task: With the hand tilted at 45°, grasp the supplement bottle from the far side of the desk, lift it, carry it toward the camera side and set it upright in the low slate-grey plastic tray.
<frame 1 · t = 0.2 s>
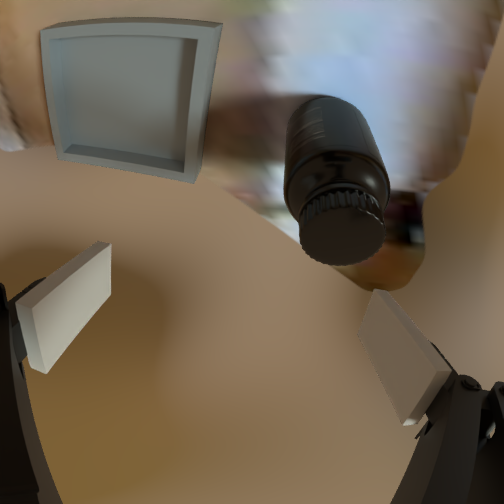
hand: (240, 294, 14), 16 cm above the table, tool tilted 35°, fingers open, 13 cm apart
supplement bottle: (328, 130, 23), on the table
tray: (126, 91, 22), on the table
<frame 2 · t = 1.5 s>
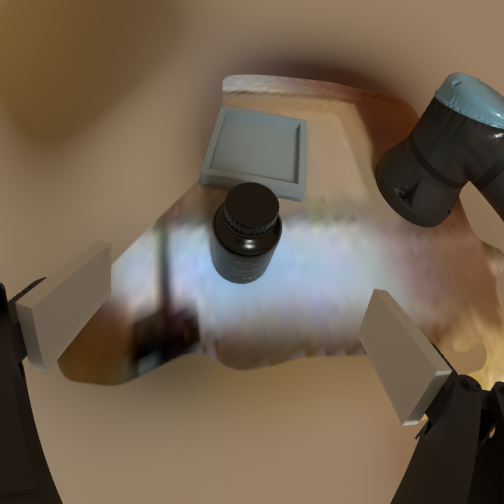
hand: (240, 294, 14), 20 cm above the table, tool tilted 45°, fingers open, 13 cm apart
supplement bottle: (239, 259, 37), on the table
tray: (257, 153, 45), on the table
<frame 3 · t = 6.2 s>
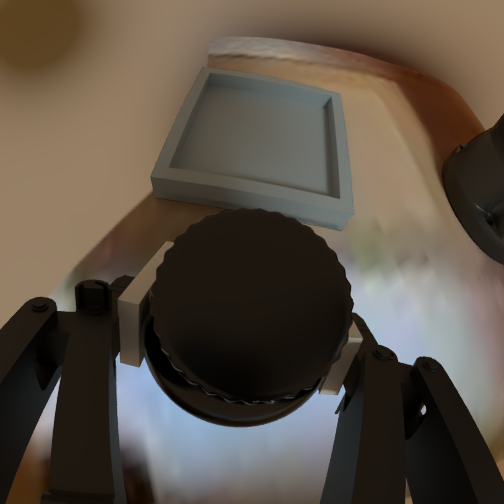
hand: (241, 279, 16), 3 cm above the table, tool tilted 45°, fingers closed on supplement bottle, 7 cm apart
supplement bottle: (227, 355, 18), on the table, touching gripper
tray: (260, 142, 25), on the table
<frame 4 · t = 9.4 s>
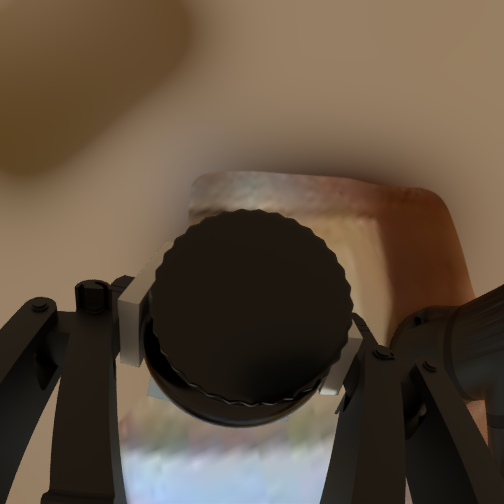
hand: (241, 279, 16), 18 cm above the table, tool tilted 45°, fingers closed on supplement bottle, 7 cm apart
supplement bottle: (226, 355, 18), point 15 cm above the table, touching gripper
when the fingers open (6 cm above the table, at t = 12.8 s): supplement bottle drops 2 cm, resting on tray.
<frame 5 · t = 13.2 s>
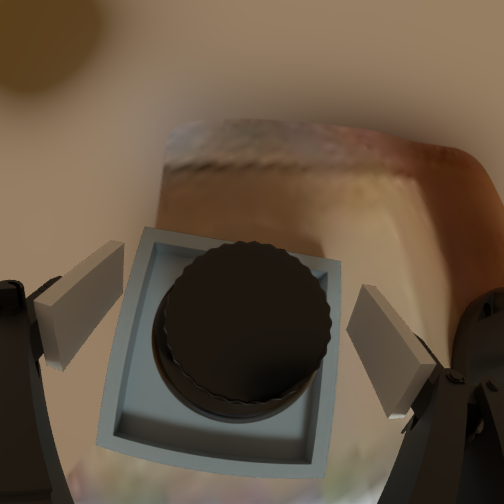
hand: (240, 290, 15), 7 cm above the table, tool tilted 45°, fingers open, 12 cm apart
supplement bottle: (225, 358, 19), point 1 cm above the table, touching tray
tray: (224, 358, 20), on the table
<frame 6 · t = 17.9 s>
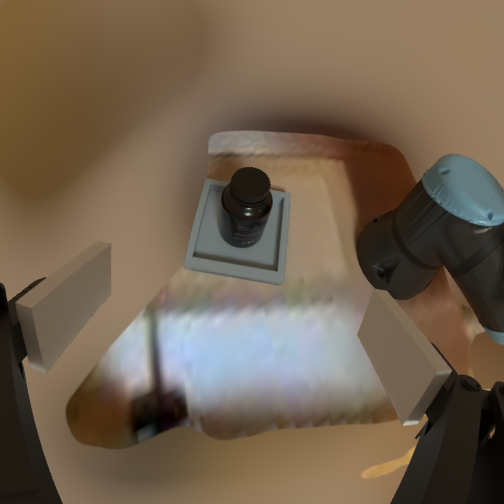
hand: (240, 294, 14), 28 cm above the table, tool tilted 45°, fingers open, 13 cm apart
supplement bottle: (240, 230, 47), point 1 cm above the table, touching tray
tray: (239, 232, 48), on the table
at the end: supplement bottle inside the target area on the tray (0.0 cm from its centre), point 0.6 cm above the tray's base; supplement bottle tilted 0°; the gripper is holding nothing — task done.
